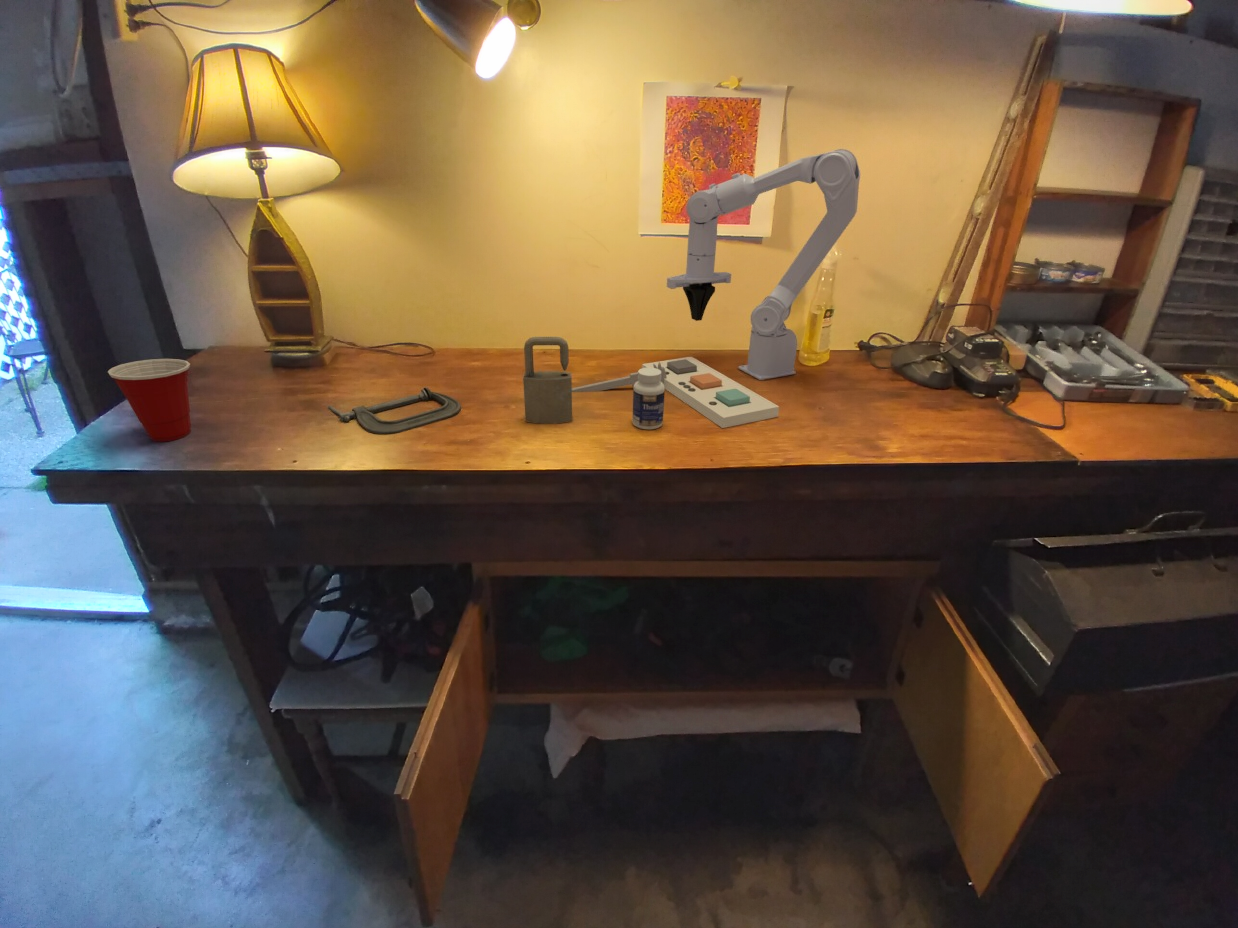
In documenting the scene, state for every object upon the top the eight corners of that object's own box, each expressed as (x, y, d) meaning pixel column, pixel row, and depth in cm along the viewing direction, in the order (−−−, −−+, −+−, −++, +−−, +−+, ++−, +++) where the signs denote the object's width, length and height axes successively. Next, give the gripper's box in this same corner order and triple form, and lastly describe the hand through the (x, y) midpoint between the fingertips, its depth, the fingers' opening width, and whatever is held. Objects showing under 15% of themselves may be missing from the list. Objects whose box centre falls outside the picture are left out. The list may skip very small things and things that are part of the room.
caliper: (664, 391, 132) (666, 361, 129) (666, 393, 131) (667, 363, 128) (563, 395, 129) (562, 365, 126) (563, 397, 128) (563, 367, 125)
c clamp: (356, 446, 107) (353, 430, 106) (328, 410, 120) (325, 397, 118) (471, 418, 118) (470, 404, 117) (434, 388, 130) (433, 375, 129)
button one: (734, 403, 124) (735, 388, 122) (748, 411, 120) (750, 396, 119) (714, 407, 122) (716, 392, 121) (728, 415, 119) (729, 400, 117)
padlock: (572, 423, 115) (570, 340, 108) (525, 424, 115) (520, 340, 108) (572, 414, 119) (570, 333, 112) (526, 414, 118) (522, 333, 111)
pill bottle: (641, 432, 112) (643, 379, 108) (626, 421, 116) (628, 368, 112) (668, 427, 114) (671, 374, 110) (653, 415, 119) (655, 364, 114)
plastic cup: (224, 424, 113) (204, 357, 107) (172, 452, 103) (147, 380, 98) (172, 417, 115) (150, 351, 109) (116, 443, 106) (89, 373, 100)
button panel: (690, 365, 143) (691, 355, 142) (777, 416, 119) (779, 405, 118) (641, 373, 138) (642, 363, 137) (722, 428, 114) (723, 417, 113)
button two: (684, 372, 138) (685, 359, 137) (695, 379, 135) (696, 365, 133) (666, 375, 136) (667, 362, 135) (677, 382, 133) (678, 368, 131)
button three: (708, 387, 131) (709, 373, 130) (720, 395, 128) (722, 380, 126) (689, 390, 129) (690, 376, 128) (701, 398, 126) (702, 383, 124)
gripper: (720, 248, 140) (714, 311, 147) (660, 252, 134) (657, 318, 141) (739, 254, 135) (732, 319, 141) (678, 259, 129) (674, 326, 135)
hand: (696, 319), depth 141 cm, fingers closed
